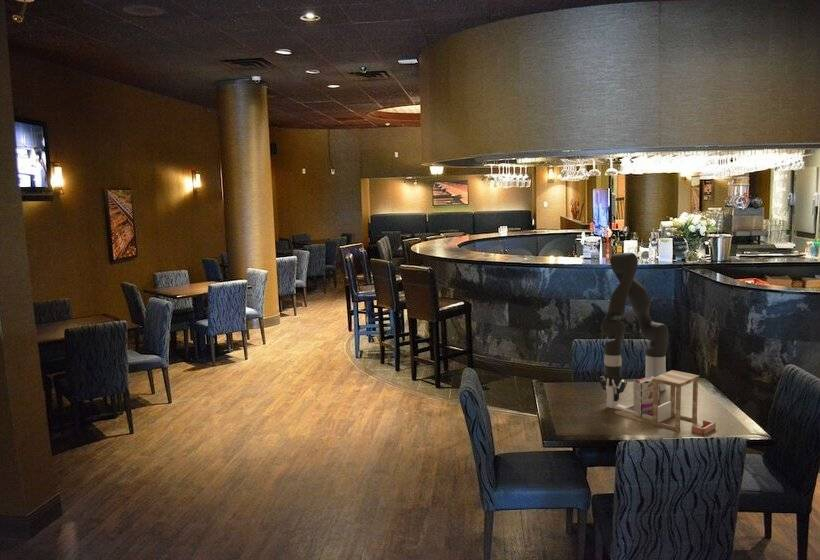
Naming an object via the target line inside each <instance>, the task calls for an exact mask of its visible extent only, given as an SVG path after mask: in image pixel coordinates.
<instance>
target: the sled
mask: <svg viewBox="0 0 820 560" xmlns="http://www.w3.org/2000/svg"><path fill="white" fill-rule="evenodd" d="M614 394H615V393H614V389H613V386H612V385H609V386H608V385H607V391H606V408H610V409H616V410H618V411H621V412H623V413H627V414H631V415H634V416H638V417H639V413H637V412H634V404H633V403H632V404H630V405H622V404H619V400H618V401H616V402H615V401H614ZM642 418H645V419H649V420H653V416H651V415H647V414H642ZM670 418H672V417H671V401H670V400H668V401H667V402H664V403H662V404H659V406H658V422H660V423H663V422H664V421H666V420H668V419H670Z"/></svg>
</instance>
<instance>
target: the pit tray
mask: <svg viewBox="0 0 820 560" xmlns="http://www.w3.org/2000/svg"><path fill="white" fill-rule="evenodd" d="M716 427H717V426H716V421H715V422H713V421H711V420H707V419H702V424H701V425H699V426H696V425H691V433H692V434H694V435H695V434H696V435H699V436H702V437H705V436H706V435H709V434H710V433H711V432H713V431H714V430H715V431H716Z"/></svg>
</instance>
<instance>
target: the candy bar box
mask: <svg viewBox="0 0 820 560" xmlns="http://www.w3.org/2000/svg"><path fill="white" fill-rule="evenodd" d="M653 378H654V376H650V377H646V378H645V377H642V378H639V379H635V380H633V403H634V410H633V411H634V412H637V413H639V417H642V414H647V415H651V416H653V383H654V382H652V380H653ZM660 398H661V397H660V383H658V406H659V405H660Z"/></svg>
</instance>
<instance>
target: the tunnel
mask: <svg viewBox="0 0 820 560" xmlns="http://www.w3.org/2000/svg"><path fill="white" fill-rule="evenodd" d="M699 380H700V375H697V374H694V373H689V372H683V371H678V370H673V369H671V370H669V371H666V373H664V374H661V375H659V376H656V377H654V378H653V380H652V382H654V383H653V420H649V419H645V418H642V417H638V416H634V415H631V414H627V413H623V412H622V411H621V410H615V411H614V415H618V416H621V417H625V418H629V419H632V420H635V419H636V420H637V421H639V420H640V421H639V422H643V421H644V423H646V422H647V424H650V425H653V426H658V427H661V428H664V429H665V428H666V429H668V430H672V431H675V432H681V420H684V421H687V422H691V423H695V424H696V423H698V394H699V392H698V391H699V390H698V389H699ZM658 383H661V384H666V385H667V386H670V395H669V396H670V397H669V398H670V399H669V401H671V417H670V418H675V419H674V425H671V424H667V423H663V422H658ZM689 384H692V407H691V409H692V410H691V417H690V416H687V415H683V414H681V410H682V409H681V407H682V406H681V404H682V403H681V401H682V400H681V399H682V387H684V386H686V385H689ZM632 404H634V402H633V403H632Z"/></svg>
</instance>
